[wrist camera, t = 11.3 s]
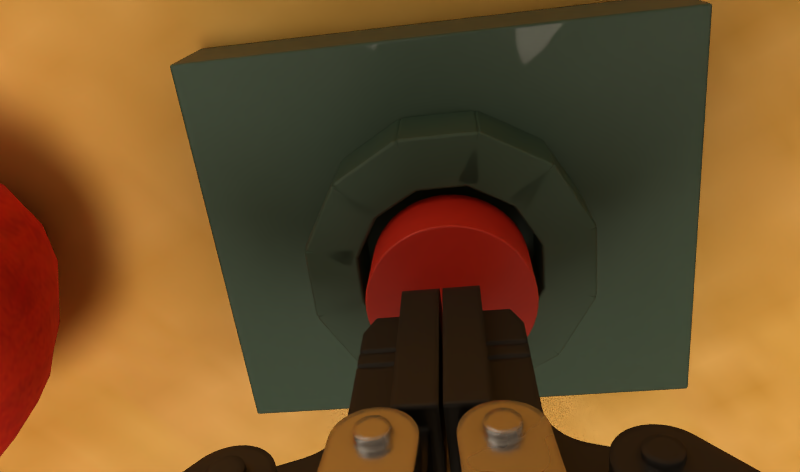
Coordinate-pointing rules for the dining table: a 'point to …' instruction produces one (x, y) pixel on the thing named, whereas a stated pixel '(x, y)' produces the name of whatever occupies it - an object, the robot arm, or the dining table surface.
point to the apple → (24, 313)
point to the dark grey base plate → (460, 181)
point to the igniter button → (452, 257)
